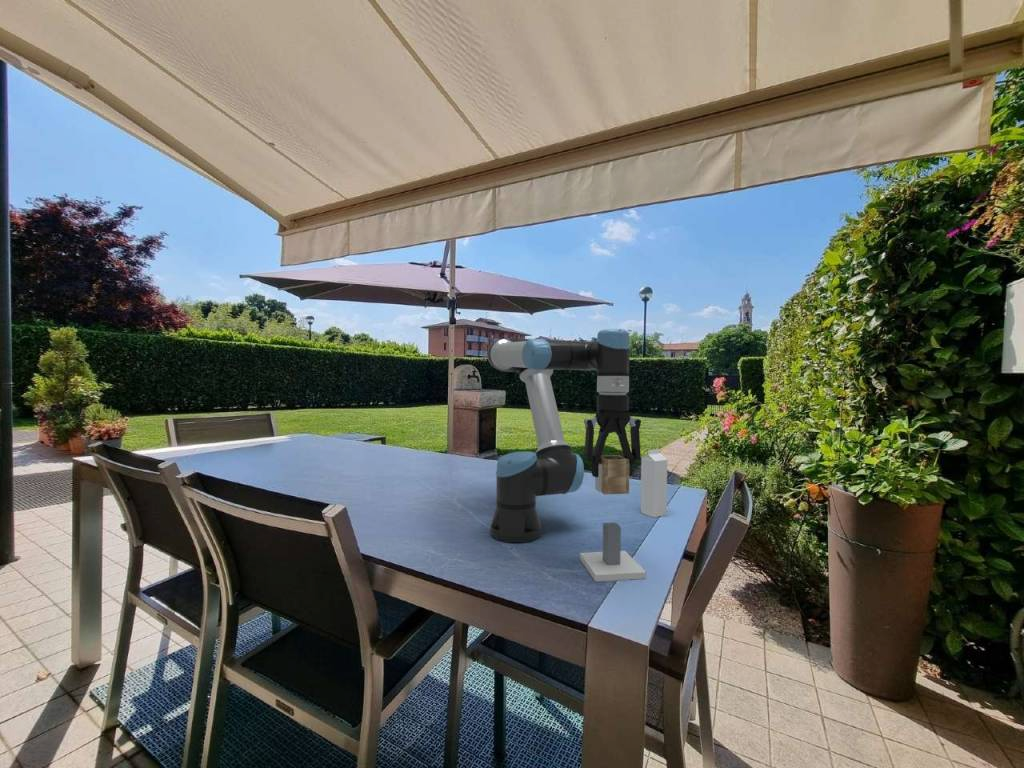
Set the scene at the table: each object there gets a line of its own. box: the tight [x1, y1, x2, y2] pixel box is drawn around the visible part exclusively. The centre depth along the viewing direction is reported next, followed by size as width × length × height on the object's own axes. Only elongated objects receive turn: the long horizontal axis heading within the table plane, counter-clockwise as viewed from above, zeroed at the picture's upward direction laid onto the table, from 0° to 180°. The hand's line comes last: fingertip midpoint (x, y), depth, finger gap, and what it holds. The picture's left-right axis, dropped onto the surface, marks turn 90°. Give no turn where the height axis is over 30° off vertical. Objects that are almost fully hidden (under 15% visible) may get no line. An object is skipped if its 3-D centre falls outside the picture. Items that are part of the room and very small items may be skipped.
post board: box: [579, 522, 647, 583], centre depth 101 cm, size 12×12×10 cm
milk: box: [640, 448, 668, 519], centre depth 142 cm, size 6×6×22 cm
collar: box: [599, 454, 630, 495], centre depth 101 cm, size 6×6×8 cm
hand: (612, 489), depth 101 cm, fingers closed on collar, 6 cm apart
